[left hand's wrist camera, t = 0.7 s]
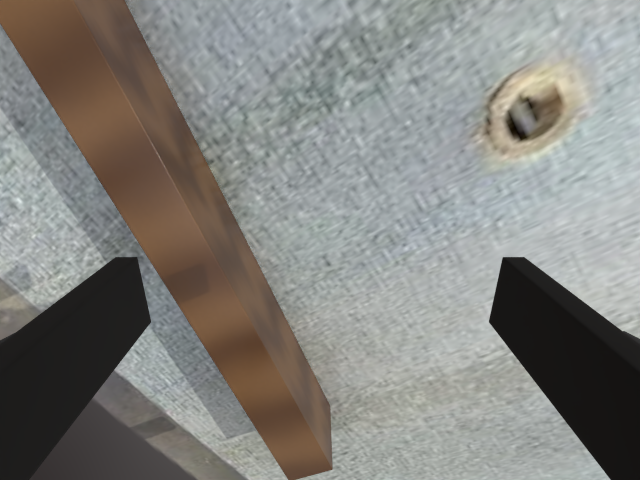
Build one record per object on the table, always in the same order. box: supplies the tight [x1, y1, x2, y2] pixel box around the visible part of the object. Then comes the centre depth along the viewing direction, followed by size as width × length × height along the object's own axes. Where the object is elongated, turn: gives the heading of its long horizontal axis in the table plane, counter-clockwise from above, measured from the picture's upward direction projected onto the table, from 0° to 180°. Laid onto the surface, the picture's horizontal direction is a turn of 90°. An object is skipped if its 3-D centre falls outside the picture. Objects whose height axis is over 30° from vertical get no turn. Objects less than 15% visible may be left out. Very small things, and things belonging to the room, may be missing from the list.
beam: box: [0, 0, 332, 480], centre depth 33 cm, size 54×5×9 cm, turn 22°
